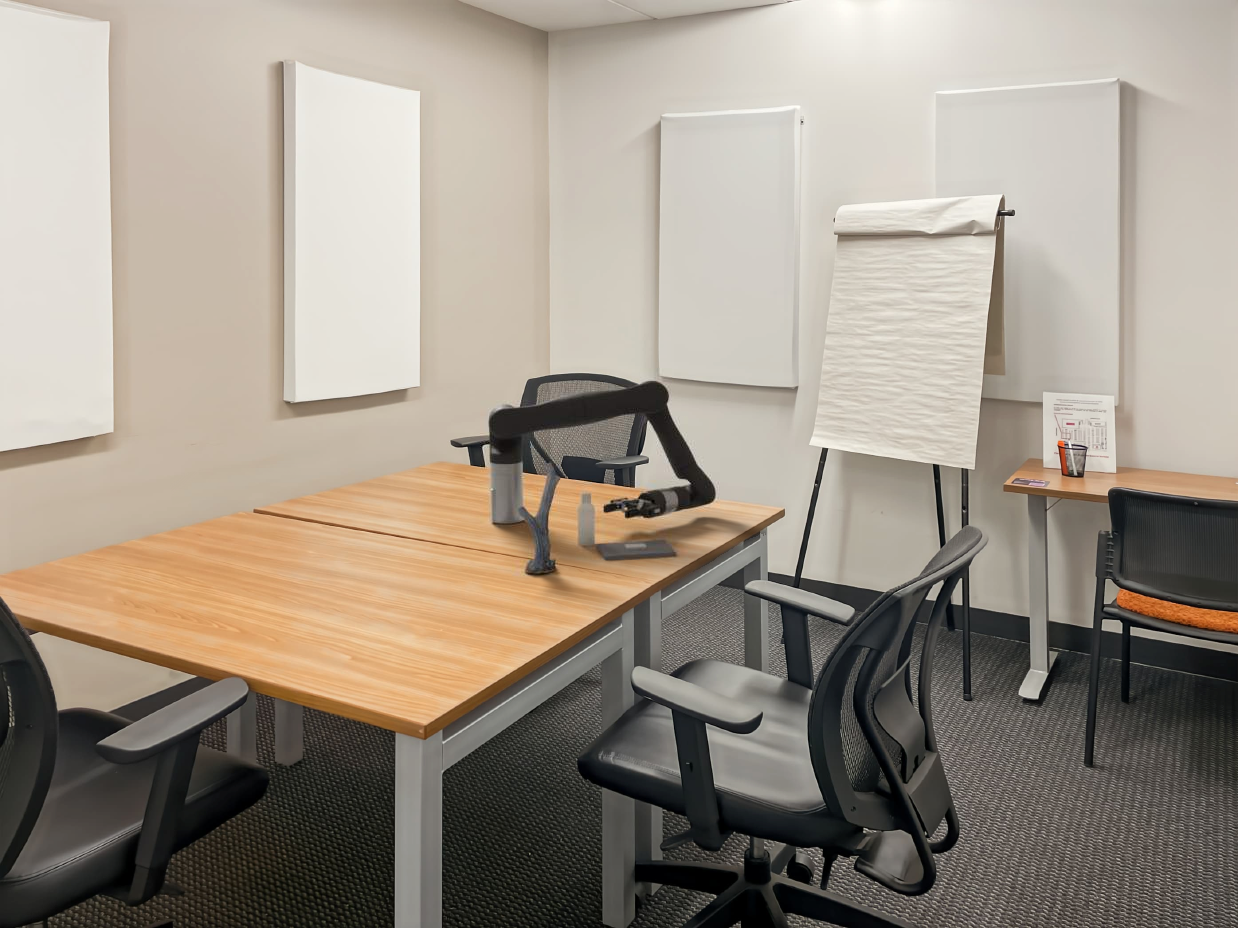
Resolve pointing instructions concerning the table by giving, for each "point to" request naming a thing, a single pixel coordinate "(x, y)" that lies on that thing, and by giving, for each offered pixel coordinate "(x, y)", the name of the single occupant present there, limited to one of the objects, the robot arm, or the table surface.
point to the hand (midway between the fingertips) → (614, 511)
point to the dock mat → (635, 549)
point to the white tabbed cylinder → (586, 521)
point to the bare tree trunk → (542, 526)
